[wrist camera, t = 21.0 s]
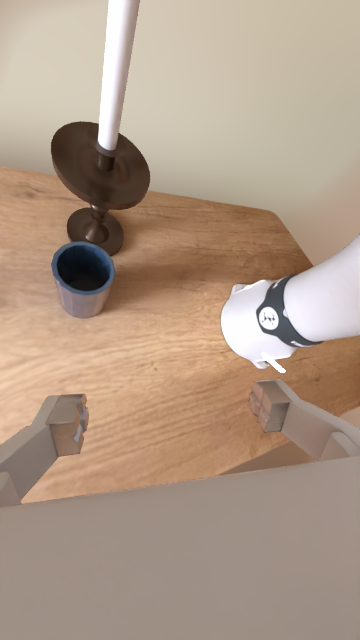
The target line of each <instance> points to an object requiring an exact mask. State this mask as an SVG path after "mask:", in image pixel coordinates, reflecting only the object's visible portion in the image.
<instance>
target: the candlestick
mask: <svg viewBox="0 0 360 640" xmlns="http://www.w3.org/2000/svg"><path fill="white" fill-rule="evenodd" d="M139 3H140V0H109V9H108V20H107V33H106V45H105V58H104V70H103V71H104V72H103V84H102V95H101V108H100V121H99V124H97V123H92V122H73V123H70V124H67V125H64V126H63V127H61V128H60V129H59V130H58V131H57V132H56V133H55V135H54V136H53V139H52V142H51V155H52V161H53V165H54V168H55V171H56V173H57V175H58V177H59V178H60V180H61V181H62V182H63V184H64V185H65V186H66V187H67V188H68V189H69V190H70V191H71V192H72V193H74V194H75V195H76V196H78V197H79V198H80V199H82V200H84V201H86V202H88V203H90V206H91V208H82V209H79V210H77V211H76V212H74V213H73V214H72V215H71V216H70V218H69V219H68V222H67V233H68V237H69V239H70V241H71V242H88V243H91V244H95V245H97V246H99V247H100V248H102V249H103V250H104V251H106V252H107V253H108V255H109V256H112V255H114V254H115V253H117V252H118V251H119V249H120V248H121V245H122V243H123V238H124V237H123V230H122V228H121V226H120V224H119V222H118V221H117V220H116V219H115V218H114V217H113V216H112V215H110V214H109V213H107V212H108V211H109V209H110V210H122V209H128V208H131V207H133V206H135V205H137V204H138V203H140V202H141V201H142V199H143V198H144V197H145V195H146V192H147V190H148V187H149V183H150V171H149V168H148V165H147V163H146V161H145V159H144V157H143V155H142V154H141V152H140V151H139V150H138V149H137V147H136V146H135V145H134V144H133V143H132V142H131V141H129V140H128V139H127V138H126V137H124V136H123V135H121V134H120V133H119V127H120V120H121V114H122V108H123V102H124V95H125V90H126V83H127V77H128V70H129V65H130V59H131V53H132V46H133V40H134V34H135V28H136V21H137V15H138V9H139Z"/></svg>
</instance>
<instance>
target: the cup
mask: <svg viewBox="0 0 360 640" xmlns="http://www.w3.org/2000/svg"><path fill="white" fill-rule="evenodd" d="M51 266H52V271H53V276H54V280H55V284H56V288H57V291H58V295H59V299H60V303H61V305H62V307H63V309H64V310H65V311H66V312H67V313H68V314H70V315H72V316H74V317H77V318H91V317H93V316H95V315H97V314H98V313H100V312H101V310H102V309H103V307H104V306H105V303H106V300H107V297H108V295H109V292H110V289H111V286H112V283H113V280H114V275H115V267H114V263H113V260H112V259H111V257H110V256H109V255H108V253H107V252H106V251H104V250H103V249H102V248H100V247H99V246H97V245H95V244H91V243H88V242H71V243H69V244H66V245H64V246H62V247H61V248H60V249H59V250H58V251H57V252H56V253H55V254H54V257H53V260H52V263H51Z"/></svg>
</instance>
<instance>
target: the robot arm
mask: <svg viewBox="0 0 360 640" xmlns="http://www.w3.org/2000/svg"><path fill="white" fill-rule="evenodd" d="M221 326H222V331H223V334H224V337H225V339H226V341H227V343H228V345H229V346H230V347H231V349H232V350H233V351H234V352H235V353H237V354H238V355H240V356H241V357H243V358H246V359H248V360H250V361H251V362H252V363H253V364H254V365H255V366H256V367H257V368H259V369H264V368H266V367H268V366H269V365H270V364H272V365H273V366H274V367H275V368H276V369H277V370H279V371H280V372H281V373H283V372H285V370H284V369H283V368H281V367H280V366H279V365H278V364H277V363H276V362H275V361H276V360H277V359H280V358H286V357H290V356H291V354H292V353H294V352H295V351H296V350H297V349H298V348H299V347H309V346H313V345H317V344H320V343H322V342H324V341H325V340H332V339H339V338H345V337H352V336H359V335H360V233H359V235H358V236H357V237H356V238H355V239H354V240H353V241H352V242H351V243H350V244H349V245H348V246H346V247H345V248H344V249H343V250H341V251H340V252H338V253H337V254H335V255H334V256H332V257H330V258H328V259H327V260H325V261H323V262H321V263H320V264H318V265H316V266H314V267H312V268H310V269H308V270H306V271H304V272H302V273H300V274H292V275H290V276H287V277H284V278H282V279H280V280H275V281H272V280H270V279H269V280H261V281H259V282H257V283H254V284H252V285H245V284H236V285H234V286H233V288H232V292H231V296H230V298H229V299H228V301H227V302H226V304H225V305H224V307H223V310H222V314H221ZM251 389H252V390H253V392H252V393H251V394H250V395H249V406H250V409H251V411H252V413H253V414H254V415H255V416H257V417H258V421H257V422H258V423H259V425H260V427H261V428H262V430H263V432H264V433H267V432H279V431H281V433H282V434H283V435H285V436H286V437H287V438H288V439H290V440H291V441H292V442H294V443H295V444H296V445H297V446H299V447H300V448H301V449H303V450H304V451H305V452H306V453H308V454H309V455H310V456H311V457H313V458H314V459H315V460H316V461H318V462H312V463H305V464H298V465H291V466H284V467H277V468H270V469H263V470H256V471H249V472H242V473H235V474H229V475H221V476H214V477H207V478H200V479H193V480H186V481H179V482H172V483H165V484H158V485H151V486H144V487H137V488H130V489H123V490H116V491H109V492H102V493H95V494H88V495H81V496H74V497H67V498H60V499H53V500H47V501H40V502H33V503H26V504H21V502H20V501H21V499H22V498H23V497H24V496H25V495H26V494H27V493H28V491H29V490H30V489H31V488H32V487H33V486H34V485H35V483H36V482H37V481H38V480H39V479H40V478H41V477H42V476H43V474H44V473H45V472H46V471H47V470H48V469H49V468H50V466H51V465H52V464H53V463H54V462H55V461H56V460H57V458H58V457H60V456H67V455H74V454H80V451H81V448H82V444H83V441H84V437H83V433H84V432H85V431H86V430H87V426H88V418H89V414H88V408H87V407H86V406H85V404H86V401H87V400H86V395H85V394H69V395H53V396H48V397H47V398H46V399H45V401H44V403H43V404H42V406H41V408H40V410H39V411H38V413H37V415H36V417H35V418H34V420H33V422H32V424H31V426H26V427H25V428H23V429H22V430H21V431H19V432H18V433H16V434H15V435H14V436H12V437H11V438H10V439H8V440H7V441H5V442H4V443H3V444H1V445H0V640H360V428H358V427H356V426H354V425H352V424H350V423H348V422H346V421H344V420H342V419H340V418H338V417H336V416H334V415H332V414H330V413H328V412H326V411H324V410H322V409H320V408H318V407H316V406H314V405H313V404H311V403H309V402H307V401H302V400H301V399H300V398H299V397H298V396H297V395H296V393H295V392H294V391H293V390H292V389H291V388H290V387H289V386H288V385H287V384H286V383H285V382H284V381H283V380H281V379H277V380H268V381H255V382H253V383H252V386H251Z"/></svg>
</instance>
